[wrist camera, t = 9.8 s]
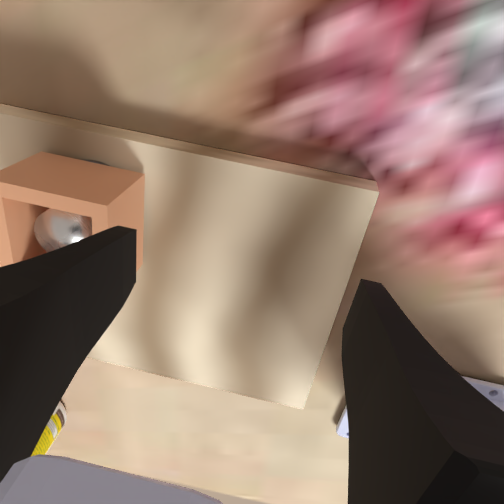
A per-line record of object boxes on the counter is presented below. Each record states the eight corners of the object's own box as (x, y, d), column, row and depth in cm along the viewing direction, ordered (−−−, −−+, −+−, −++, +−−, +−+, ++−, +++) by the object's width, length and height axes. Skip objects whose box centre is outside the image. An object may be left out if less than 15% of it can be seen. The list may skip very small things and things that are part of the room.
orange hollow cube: (144, 173, 20) (99, 211, 16) (142, 263, 22) (104, 315, 18) (41, 151, 20) (-29, 182, 16) (52, 243, 23) (-5, 289, 19)
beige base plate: (375, 181, 20) (379, 192, 19) (304, 392, 28) (303, 409, 27) (-1, 103, 21) (-22, 108, 20) (36, 328, 29) (23, 342, 28)
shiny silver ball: (155, 161, 21) (112, 197, 17) (153, 244, 24) (115, 293, 20) (63, 142, 21) (-2, 172, 17) (70, 226, 24) (16, 270, 20)
